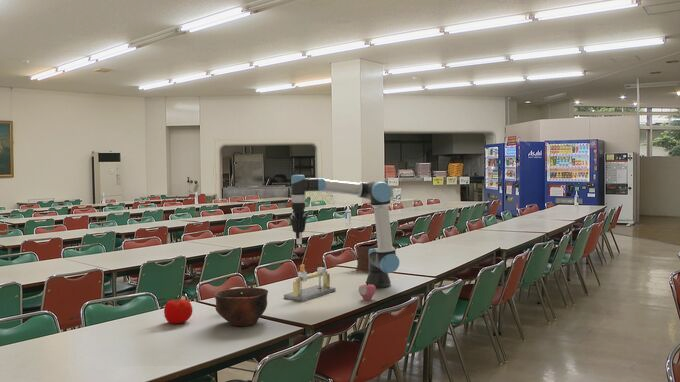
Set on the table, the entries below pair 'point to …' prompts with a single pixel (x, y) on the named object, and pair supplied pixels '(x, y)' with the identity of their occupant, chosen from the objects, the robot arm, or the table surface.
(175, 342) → the table surface
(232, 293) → the bowl
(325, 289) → the grey and yellow frame
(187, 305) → the tomato
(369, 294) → the apple
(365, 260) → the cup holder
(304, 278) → the slider leg
